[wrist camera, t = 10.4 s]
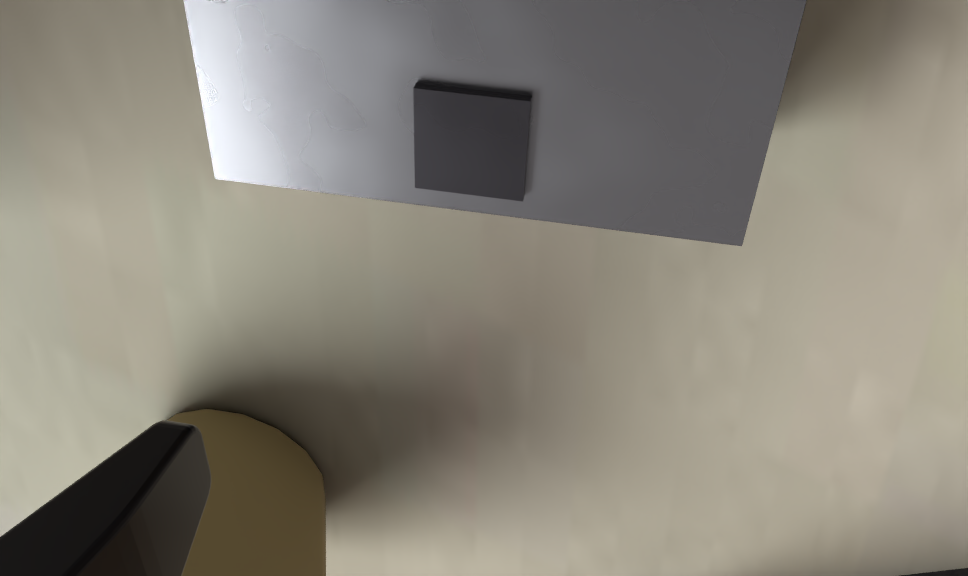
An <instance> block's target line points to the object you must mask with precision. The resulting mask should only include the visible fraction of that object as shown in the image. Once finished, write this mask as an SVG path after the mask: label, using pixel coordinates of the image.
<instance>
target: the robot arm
mask: <svg viewBox="0 0 968 576" xmlns="http://www.w3.org/2000/svg"><path fill="white" fill-rule="evenodd" d="M210 488H211V471H210V467H209V463H208V459H207V454H206V450H205V446H204V441H203V437H202V434H201V431H200V430H199V428H198V427H197V426H195V425H192V424H186V423H180V422H174V421H160V422H158V423H155V424H154V425H152V426H151V427H149V428H148V429H147V430H145V431H144V432H143V433H141V434H140V435H138V436H137V437H136V438H134V439H133V440H132V441H130V442H129V443H128V444H126V445H125V446H124V447H122V448H121V449H119V450H118V451H117V452H115V453H114V454H113V455H111V456H110V457H109V458H107V459H106V460H104V461H103V462H102V463H100V464H99V465H98V466H96V467H95V468H94V469H92V470H91V471H89V472H88V473H87V474H85V475H84V476H83V477H81V478H80V479H79V480H77V481H76V482H74V483H73V484H72V485H70V486H69V487H68V488H66V489H65V490H64V491H62V492H61V493H59V494H58V495H57V496H55V497H54V498H53V499H51V500H50V501H49V502H47V503H46V504H44V505H43V506H42V507H40V508H39V509H38V510H36V511H35V512H34V513H32V514H31V515H30V516H28V517H27V518H25V519H24V520H23V521H21V522H20V523H19V524H17V525H16V526H15V527H13V528H12V529H10V530H9V531H8V532H6V533H5V534H4V535H2V536H1V537H0V576H182V573H183V570H184V567H185V564H186V561H187V558H188V555H189V552H190V549H191V546H192V544H193V541H194V538H195V535H196V532H197V529H198V526H199V523H200V520H201V517H202V514H203V511H204V508H205V505H206V502H207V499H208V496H209V493H210Z"/></svg>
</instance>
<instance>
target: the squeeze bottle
mask: <svg viewBox="0 0 968 576" xmlns="http://www.w3.org/2000/svg"><path fill="white" fill-rule="evenodd" d="M167 421H174V422H180V423H186V424H192V425H195V426H197V427H198V428H199V430H200V431H201V434H202V437H203V441H204V446H205V450H206V454H207V459H208V463H209V467H210V471H211V488H210V493H209V496H208V499H207V502H206V505H205V508H204V511H203V514H202V517H201V520H200V523H199V526H198V529H197V532H196V535H195V538H194V541H193V544H192V546H191V549H190V552H189V555H188V558H187V561H186V564H185V567H184V570H183V573H182V576H326V503H325V490H324V482H323V475H322V474H321V472H320V471H319V469H318V468H317V466H316V465H315V463H314V462H313V460H312V459H311V457H310V456H309V454H308V453H307V452H306V451H305V450H304V449H303V448H302V447H300V446H299V445H298V444H296V443H295V442H294V441H293V440H291V439H290V438H289V437H287V436H286V435H285V434H284V433H282V432H281V431H280V430H278V429H276V428H274V427H271V426H269V425H267V424H264V423H262V422H260V421H257V420H255V419H253V418H250V417H248V416H246V415H243V414H238V413H231V412H225V411H218V410H212V409H203V410H196V411H190V412H184V413H177V414H176V415H174V416H173V417H171V418H170V419H169V420H167Z"/></svg>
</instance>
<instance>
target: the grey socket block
mask: <svg viewBox="0 0 968 576" xmlns="http://www.w3.org/2000/svg"><path fill="white" fill-rule="evenodd" d="M805 4H806V0H184V5H185V11H186V17H187V22H188V28H189V34H190V39H191V45H192V51H193V56H194V62H195V68H196V73H197V79H198V85H199V90H200V96H201V102H202V107H203V113H204V119H205V124H206V130H207V136H208V141H209V147H210V153H211V158H212V164H213V170H214V175H215V179H220V180H228V181H236V182H244V183H252V184H259V185H267V186H275V187H283V188H291V189H298V190H306V191H314V192H322V193H330V194H338V195H345V196H353V197H361V198H369V199H377V200H385V201H392V202H400V203H408V204H416V205H424V206H431V207H439V208H447V209H455V210H463V211H471V212H478V213H486V214H494V215H502V216H510V217H518V218H525V219H533V220H541V221H549V222H557V223H564V224H572V225H580V226H588V227H596V228H604V229H611V230H619V231H627V232H635V233H643V234H650V235H658V236H666V237H674V238H682V239H690V240H697V241H705V242H713V243H721V244H729V245H737V246H742V244H743V240H744V236H745V232H746V229H747V225H748V221H749V217H750V213H751V210H752V206H753V202H754V198H755V194H756V191H757V187H758V183H759V179H760V175H761V172H762V168H763V164H764V160H765V156H766V153H767V149H768V145H769V141H770V137H771V134H772V130H773V126H774V122H775V118H776V115H777V111H778V107H779V103H780V99H781V96H782V92H783V88H784V84H785V80H786V77H787V73H788V69H789V65H790V61H791V58H792V54H793V50H794V46H795V42H796V39H797V35H798V31H799V27H800V23H801V20H802V16H803V12H804V8H805Z"/></svg>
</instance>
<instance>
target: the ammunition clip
mask: <svg viewBox="0 0 968 576" xmlns="http://www.w3.org/2000/svg"><path fill="white" fill-rule="evenodd" d="M901 576H968V568H964V569H955V570H946V571H937V572H928V573H919V574H910V575H901Z"/></svg>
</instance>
